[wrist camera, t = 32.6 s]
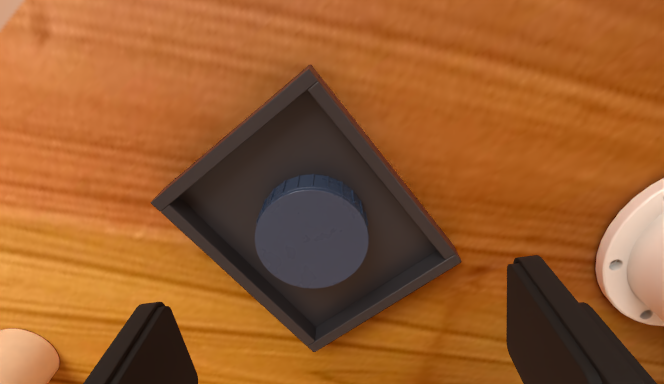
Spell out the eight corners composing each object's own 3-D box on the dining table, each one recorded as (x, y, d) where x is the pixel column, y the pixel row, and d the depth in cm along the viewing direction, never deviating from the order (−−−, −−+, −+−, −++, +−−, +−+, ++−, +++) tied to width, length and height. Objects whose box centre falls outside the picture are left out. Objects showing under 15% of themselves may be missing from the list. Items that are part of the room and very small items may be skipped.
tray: (453, 245, 28) (462, 262, 26) (315, 332, 31) (313, 353, 30) (310, 63, 23) (308, 68, 21) (163, 189, 27) (150, 203, 25)
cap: (270, 271, 28) (264, 294, 26) (250, 179, 26) (243, 195, 23) (370, 262, 28) (373, 284, 26) (362, 167, 25) (365, 183, 23)
